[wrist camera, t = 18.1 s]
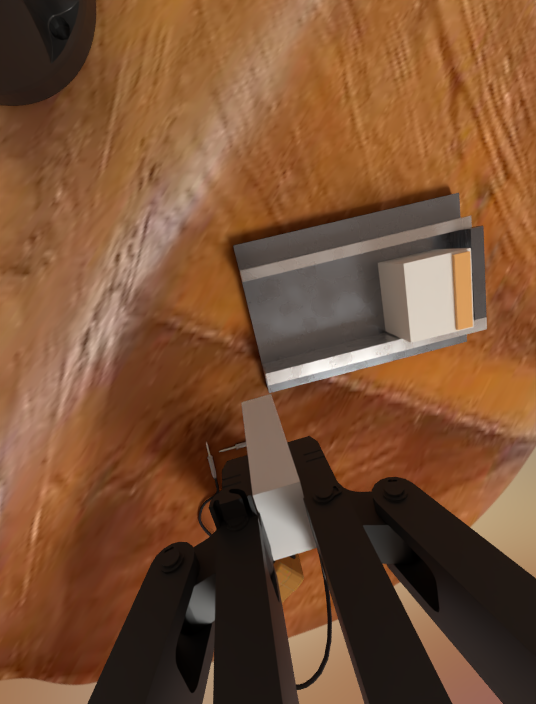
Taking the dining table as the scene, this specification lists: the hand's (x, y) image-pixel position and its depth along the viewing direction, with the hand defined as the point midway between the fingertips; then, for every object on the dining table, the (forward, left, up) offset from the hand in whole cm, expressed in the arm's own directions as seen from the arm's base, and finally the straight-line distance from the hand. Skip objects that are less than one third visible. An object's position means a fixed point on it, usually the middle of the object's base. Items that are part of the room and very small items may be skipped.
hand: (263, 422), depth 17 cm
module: (-1, +17, -17) cm, 25 cm away
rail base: (-1, +12, -18) cm, 22 cm away
